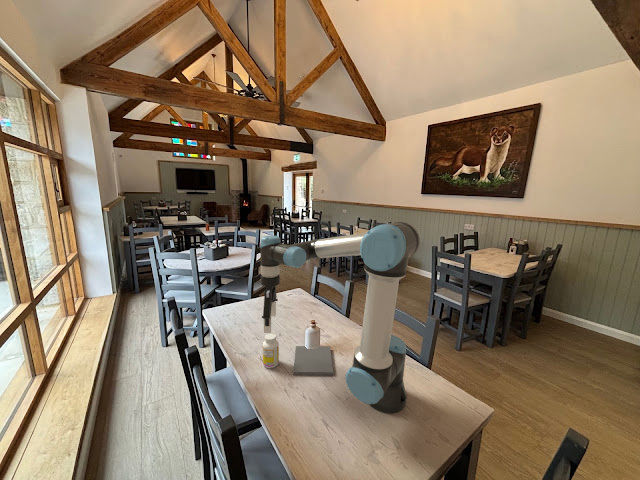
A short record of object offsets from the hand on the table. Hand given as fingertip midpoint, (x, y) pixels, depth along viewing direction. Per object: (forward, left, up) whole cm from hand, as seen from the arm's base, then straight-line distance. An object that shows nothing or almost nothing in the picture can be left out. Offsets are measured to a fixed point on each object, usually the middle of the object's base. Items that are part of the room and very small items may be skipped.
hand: (270, 323), depth 110 cm
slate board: (+2, -18, -18) cm, 26 cm away
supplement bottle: (0, 0, -19) cm, 19 cm away
